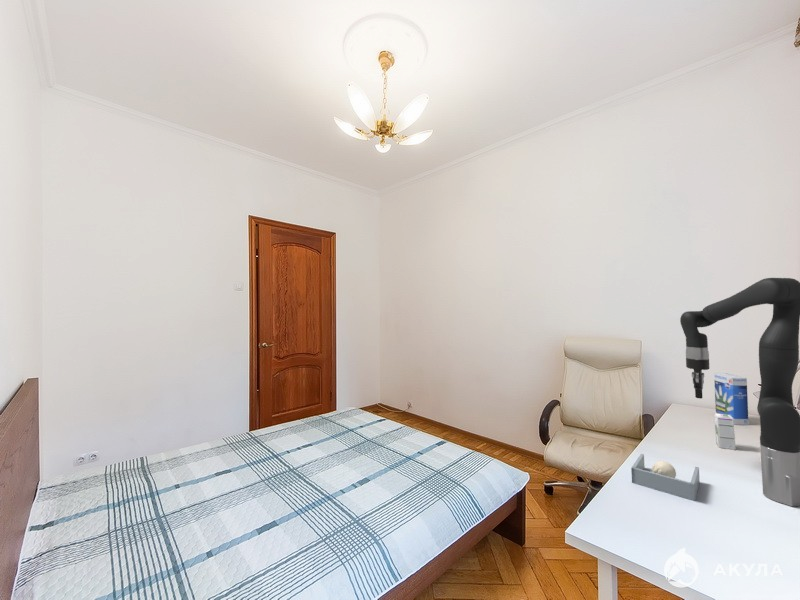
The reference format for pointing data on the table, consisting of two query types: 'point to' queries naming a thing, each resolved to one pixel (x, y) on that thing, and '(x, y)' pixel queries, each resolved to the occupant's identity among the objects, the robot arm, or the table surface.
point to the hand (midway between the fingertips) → (698, 397)
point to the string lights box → (731, 397)
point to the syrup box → (725, 431)
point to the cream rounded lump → (664, 469)
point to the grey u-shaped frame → (665, 481)
